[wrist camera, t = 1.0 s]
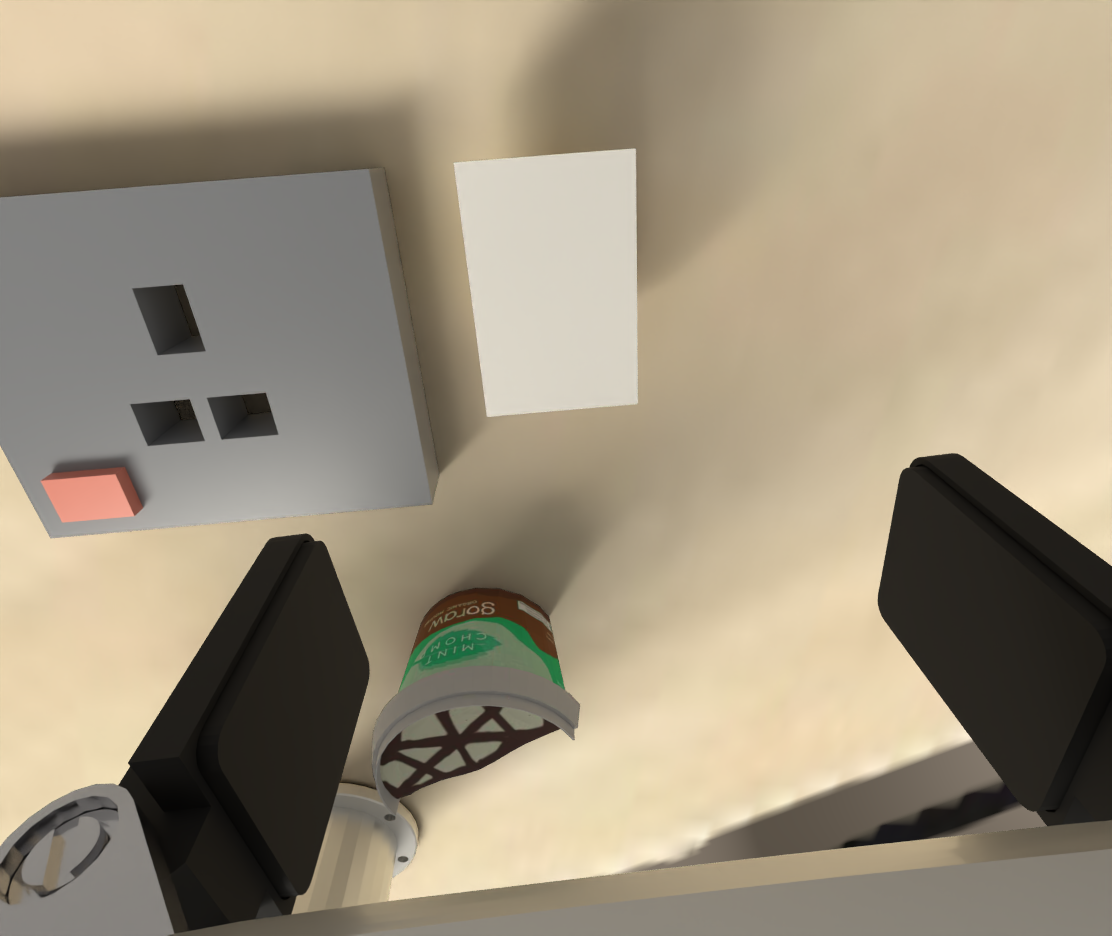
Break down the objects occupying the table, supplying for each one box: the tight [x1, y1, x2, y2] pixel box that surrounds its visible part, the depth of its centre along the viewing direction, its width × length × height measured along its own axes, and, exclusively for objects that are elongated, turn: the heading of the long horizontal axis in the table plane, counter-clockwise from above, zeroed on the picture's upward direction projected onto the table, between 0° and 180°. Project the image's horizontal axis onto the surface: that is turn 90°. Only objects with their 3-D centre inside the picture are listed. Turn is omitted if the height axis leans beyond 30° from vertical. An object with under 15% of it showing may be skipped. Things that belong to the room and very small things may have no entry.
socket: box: [0, 168, 439, 538], centre depth 29 cm, size 16×20×4 cm
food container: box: [372, 588, 580, 816], centre depth 36 cm, size 12×6×10 cm, turn 119°
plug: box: [454, 148, 638, 417], centre depth 26 cm, size 9×6×9 cm, turn 4°
